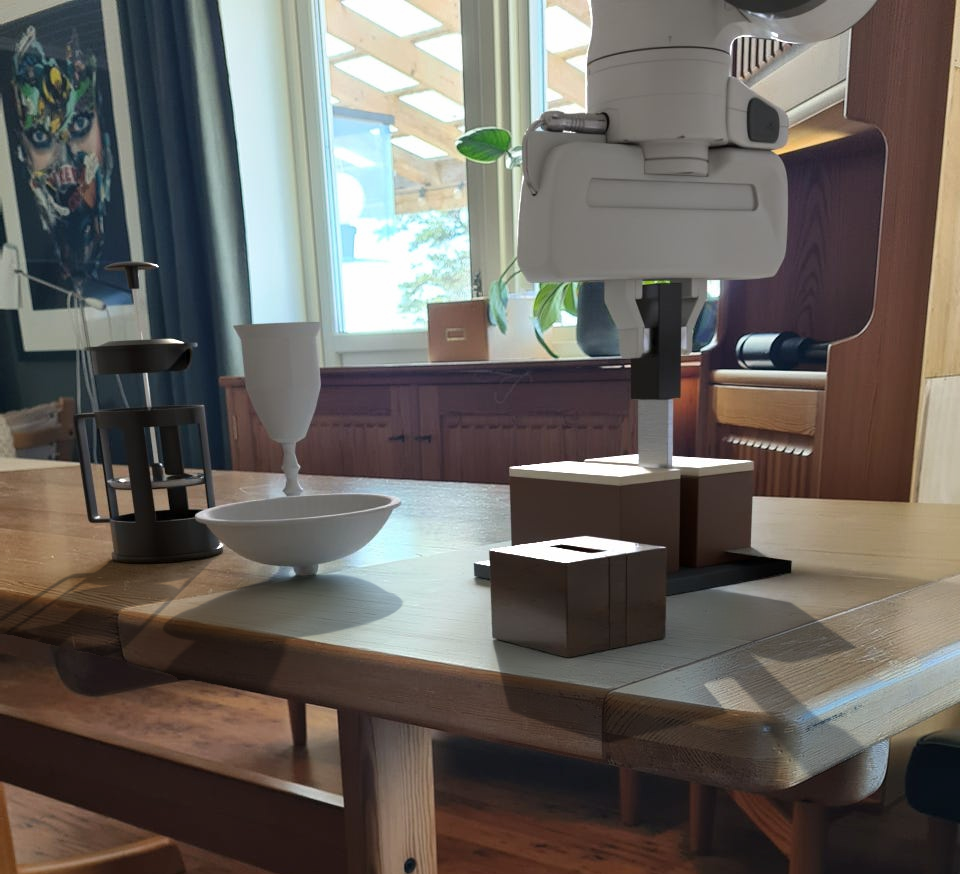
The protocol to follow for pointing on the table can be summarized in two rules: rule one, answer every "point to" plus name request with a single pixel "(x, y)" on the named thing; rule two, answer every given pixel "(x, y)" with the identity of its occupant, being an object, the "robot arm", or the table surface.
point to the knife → (658, 374)
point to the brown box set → (646, 514)
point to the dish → (300, 527)
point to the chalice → (283, 383)
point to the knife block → (578, 594)
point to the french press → (147, 529)
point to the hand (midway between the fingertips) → (656, 357)
